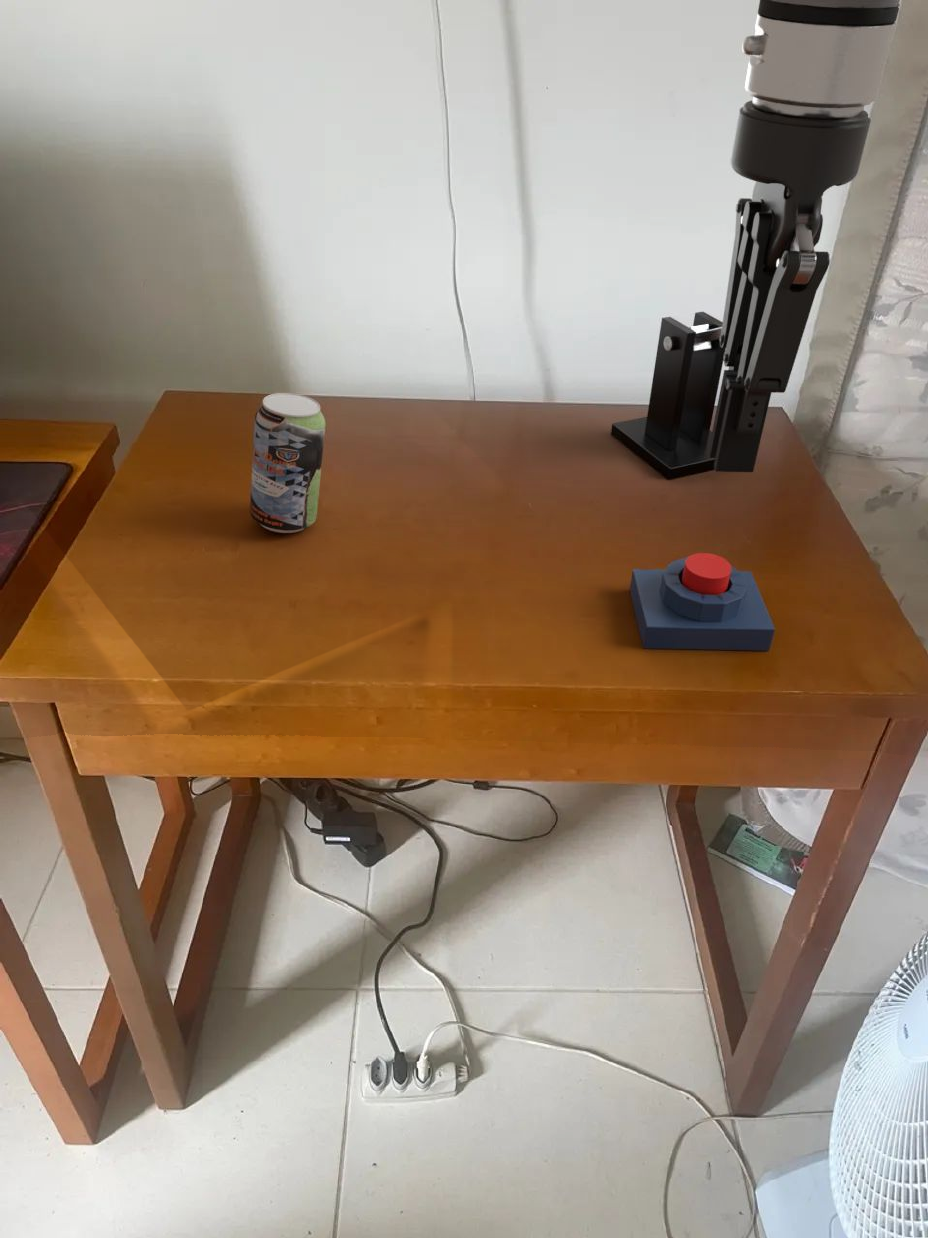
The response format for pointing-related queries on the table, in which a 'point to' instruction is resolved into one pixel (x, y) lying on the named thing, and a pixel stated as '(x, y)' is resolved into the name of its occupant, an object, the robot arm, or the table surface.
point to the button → (706, 574)
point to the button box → (699, 612)
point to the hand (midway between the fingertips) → (730, 462)
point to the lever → (705, 337)
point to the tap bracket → (678, 403)
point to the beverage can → (287, 462)
